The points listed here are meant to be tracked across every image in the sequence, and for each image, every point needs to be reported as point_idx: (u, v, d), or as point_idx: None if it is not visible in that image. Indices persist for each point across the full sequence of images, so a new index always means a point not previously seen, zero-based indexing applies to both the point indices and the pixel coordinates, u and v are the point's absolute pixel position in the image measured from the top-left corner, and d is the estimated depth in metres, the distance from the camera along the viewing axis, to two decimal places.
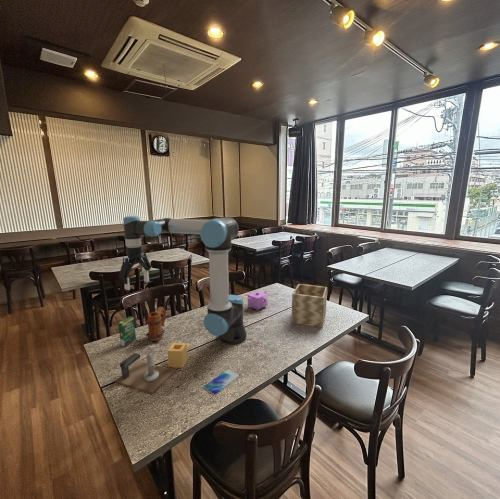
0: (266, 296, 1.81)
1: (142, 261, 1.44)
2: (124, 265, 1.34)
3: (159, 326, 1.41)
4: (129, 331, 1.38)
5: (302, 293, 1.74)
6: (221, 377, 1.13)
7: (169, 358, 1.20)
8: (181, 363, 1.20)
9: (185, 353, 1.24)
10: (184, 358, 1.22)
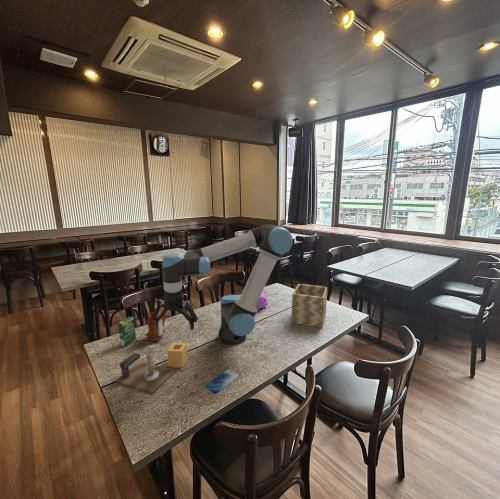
0: (266, 296, 1.81)
1: (180, 310, 1.16)
2: (157, 307, 1.18)
3: None
4: (129, 331, 1.38)
5: (302, 293, 1.74)
6: (221, 377, 1.13)
7: (169, 358, 1.20)
8: (181, 363, 1.20)
9: (185, 353, 1.24)
10: (184, 358, 1.22)
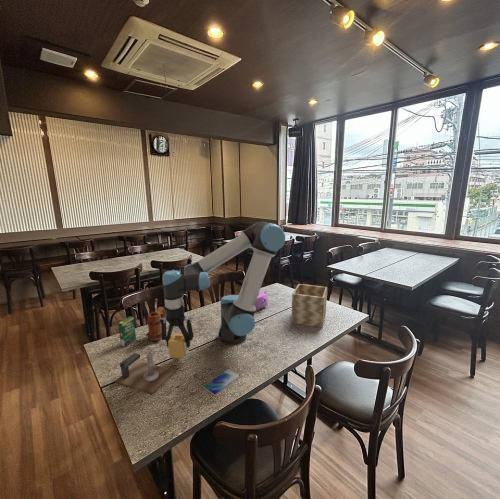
0: (266, 296, 1.81)
1: (180, 327, 1.18)
2: None
3: (159, 326, 1.41)
4: (129, 331, 1.38)
5: (302, 293, 1.74)
6: (221, 377, 1.13)
7: (170, 349, 1.19)
8: (182, 354, 1.19)
9: None
10: None
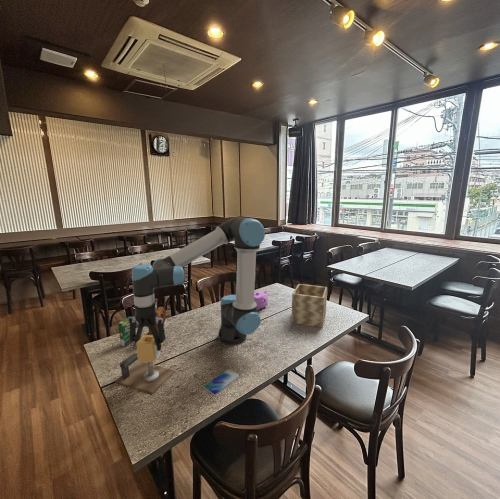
0: (266, 296, 1.81)
1: (150, 327, 1.06)
2: None
3: None
4: (129, 331, 1.38)
5: (302, 293, 1.74)
6: (221, 377, 1.13)
7: (138, 352, 1.07)
8: (151, 357, 1.07)
9: None
10: None
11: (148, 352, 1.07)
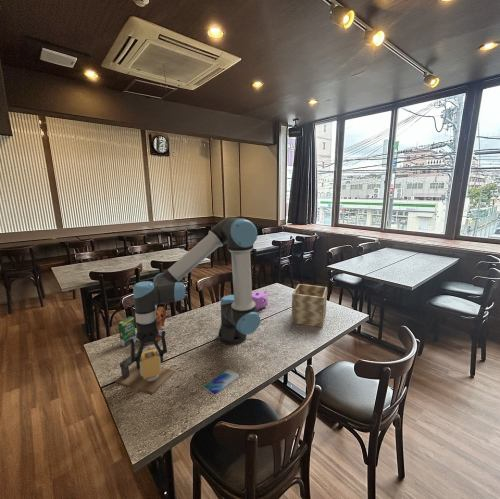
0: (266, 296, 1.81)
1: (154, 341, 1.09)
2: (131, 347, 1.06)
3: (159, 326, 1.41)
4: (129, 331, 1.38)
5: (302, 293, 1.74)
6: (221, 377, 1.13)
7: (144, 369, 1.08)
8: (158, 370, 1.11)
9: None
10: None
11: (155, 366, 1.10)
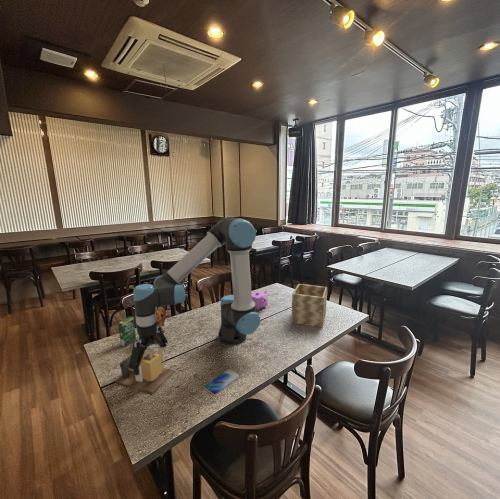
0: (266, 296, 1.81)
1: (157, 339, 1.12)
2: (135, 352, 1.03)
3: (159, 326, 1.41)
4: (129, 331, 1.38)
5: (302, 293, 1.74)
6: (221, 377, 1.13)
7: (151, 371, 1.08)
8: (161, 368, 1.14)
9: None
10: None
11: (158, 365, 1.12)
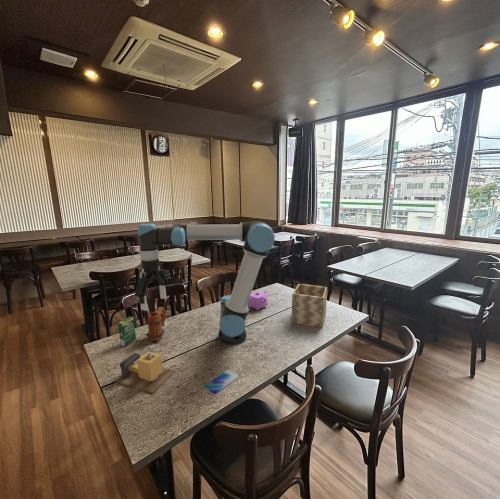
0: (266, 296, 1.81)
1: (159, 275, 1.24)
2: (141, 282, 1.14)
3: (159, 326, 1.41)
4: (129, 331, 1.38)
5: (302, 293, 1.74)
6: (221, 377, 1.13)
7: (151, 371, 1.08)
8: (161, 368, 1.14)
9: None
10: None
11: (158, 365, 1.12)
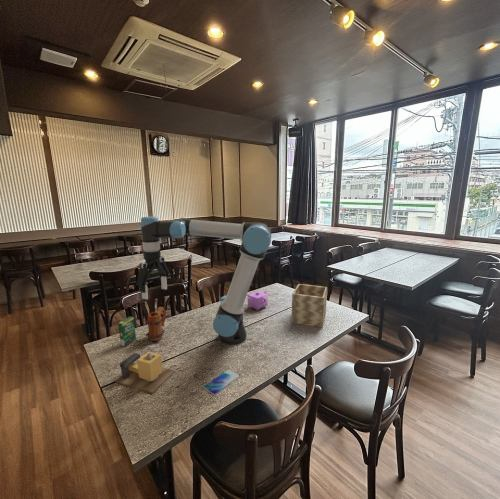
0: (266, 296, 1.81)
1: (160, 266, 1.29)
2: (142, 271, 1.20)
3: (159, 326, 1.41)
4: (129, 331, 1.38)
5: (302, 293, 1.74)
6: (221, 377, 1.13)
7: (151, 371, 1.08)
8: (161, 368, 1.14)
9: None
10: None
11: (158, 365, 1.12)
